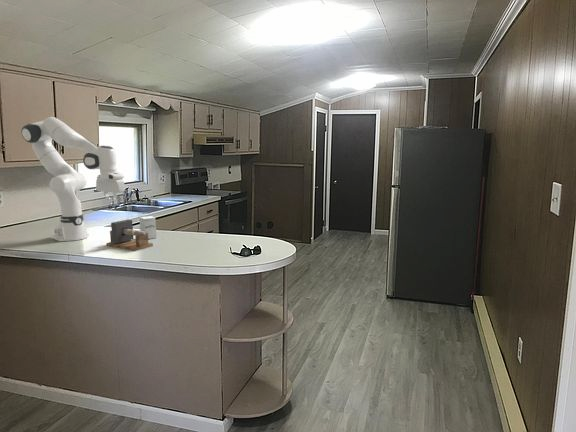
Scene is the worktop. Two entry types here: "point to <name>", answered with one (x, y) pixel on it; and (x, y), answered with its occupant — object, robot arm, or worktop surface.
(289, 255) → the worktop surface
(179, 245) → the worktop surface
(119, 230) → the grey flat block
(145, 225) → the supplement box
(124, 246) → the pipe stand
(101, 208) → the worktop surface
